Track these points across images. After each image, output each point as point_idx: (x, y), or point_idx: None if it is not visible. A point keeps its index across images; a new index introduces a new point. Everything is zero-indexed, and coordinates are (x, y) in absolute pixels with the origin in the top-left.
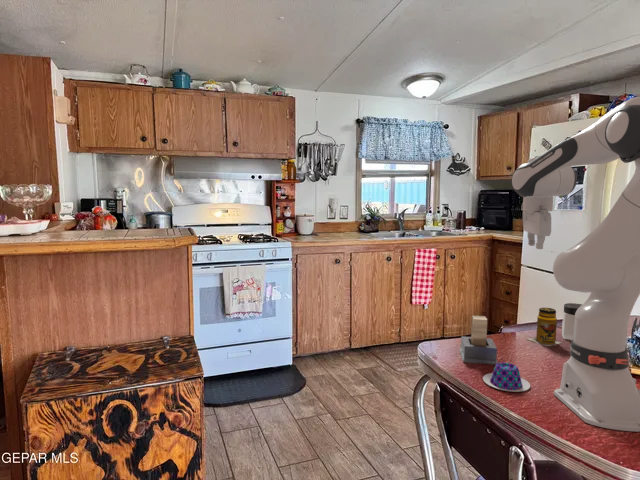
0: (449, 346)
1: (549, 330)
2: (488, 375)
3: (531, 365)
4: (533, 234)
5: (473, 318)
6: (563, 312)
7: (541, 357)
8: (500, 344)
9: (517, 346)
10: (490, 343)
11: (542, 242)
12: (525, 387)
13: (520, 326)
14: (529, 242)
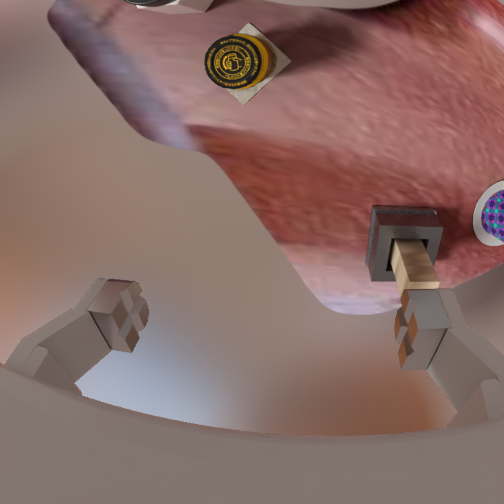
0: (342, 276)
1: (272, 57)
2: (479, 234)
3: (432, 141)
4: (54, 369)
5: None
6: (147, 7)
7: (380, 101)
8: (306, 175)
9: (311, 137)
10: (414, 233)
11: (480, 348)
12: None
13: (132, 108)
14: (138, 338)
